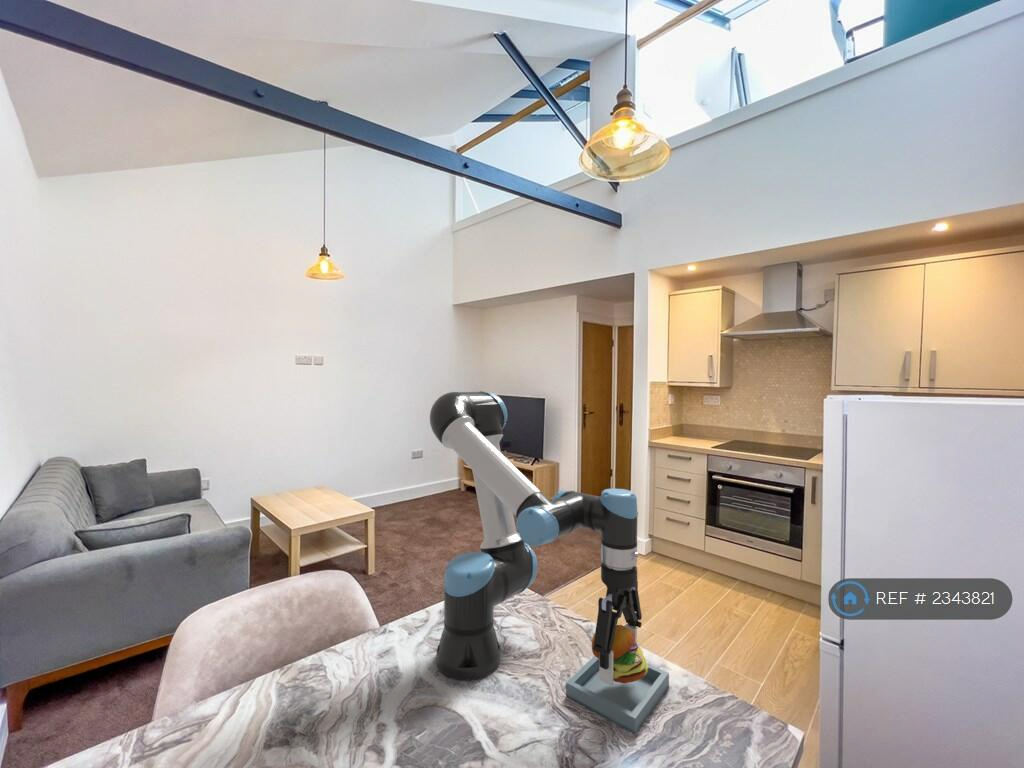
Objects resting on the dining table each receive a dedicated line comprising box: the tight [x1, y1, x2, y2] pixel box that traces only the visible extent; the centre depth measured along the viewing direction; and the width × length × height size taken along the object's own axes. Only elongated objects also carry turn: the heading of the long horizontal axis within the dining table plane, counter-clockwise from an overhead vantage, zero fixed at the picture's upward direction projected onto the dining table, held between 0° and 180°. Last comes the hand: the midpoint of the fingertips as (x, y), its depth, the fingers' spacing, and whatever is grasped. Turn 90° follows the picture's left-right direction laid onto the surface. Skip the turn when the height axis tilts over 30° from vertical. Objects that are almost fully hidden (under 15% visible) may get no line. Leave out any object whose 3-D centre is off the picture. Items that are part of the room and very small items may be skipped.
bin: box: [565, 655, 670, 736], centre depth 92 cm, size 15×17×3 cm
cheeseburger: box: [591, 624, 648, 683], centre depth 92 cm, size 10×11×10 cm
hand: (618, 668), depth 92 cm, fingers closed on cheeseburger, 10 cm apart
